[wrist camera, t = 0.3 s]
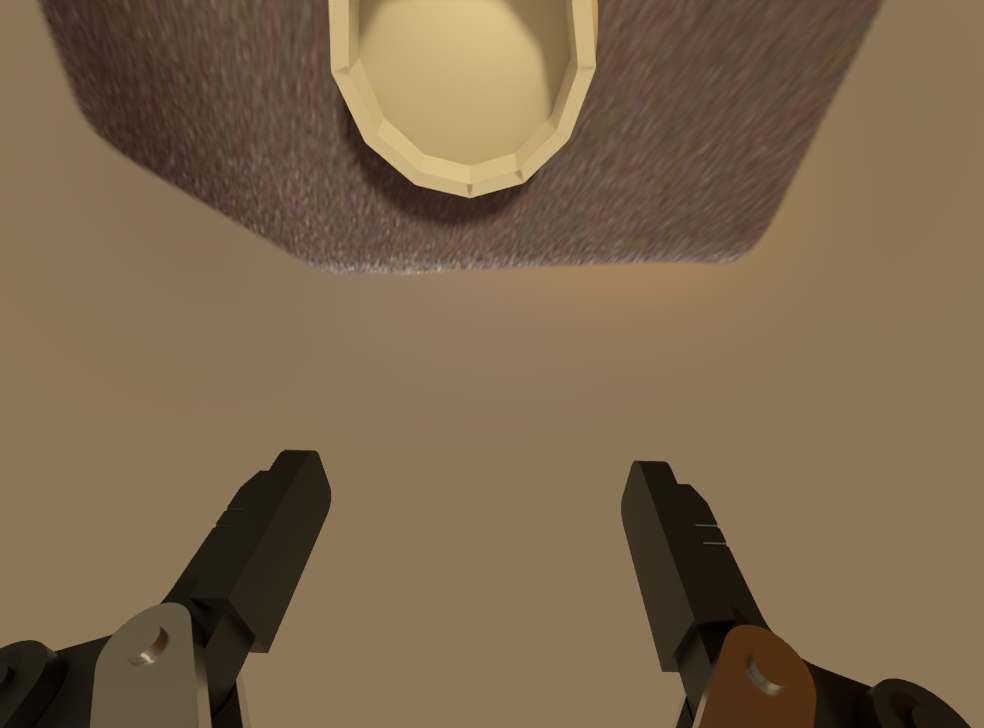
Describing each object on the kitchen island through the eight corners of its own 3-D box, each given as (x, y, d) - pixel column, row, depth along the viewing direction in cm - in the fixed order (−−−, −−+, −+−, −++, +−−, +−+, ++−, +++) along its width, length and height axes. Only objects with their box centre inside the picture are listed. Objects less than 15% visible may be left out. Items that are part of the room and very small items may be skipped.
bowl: (301, 56, 26) (282, 72, 23) (452, -239, 18) (447, -262, 16) (472, 209, 34) (471, 233, 31) (628, 51, 26) (644, 66, 24)
